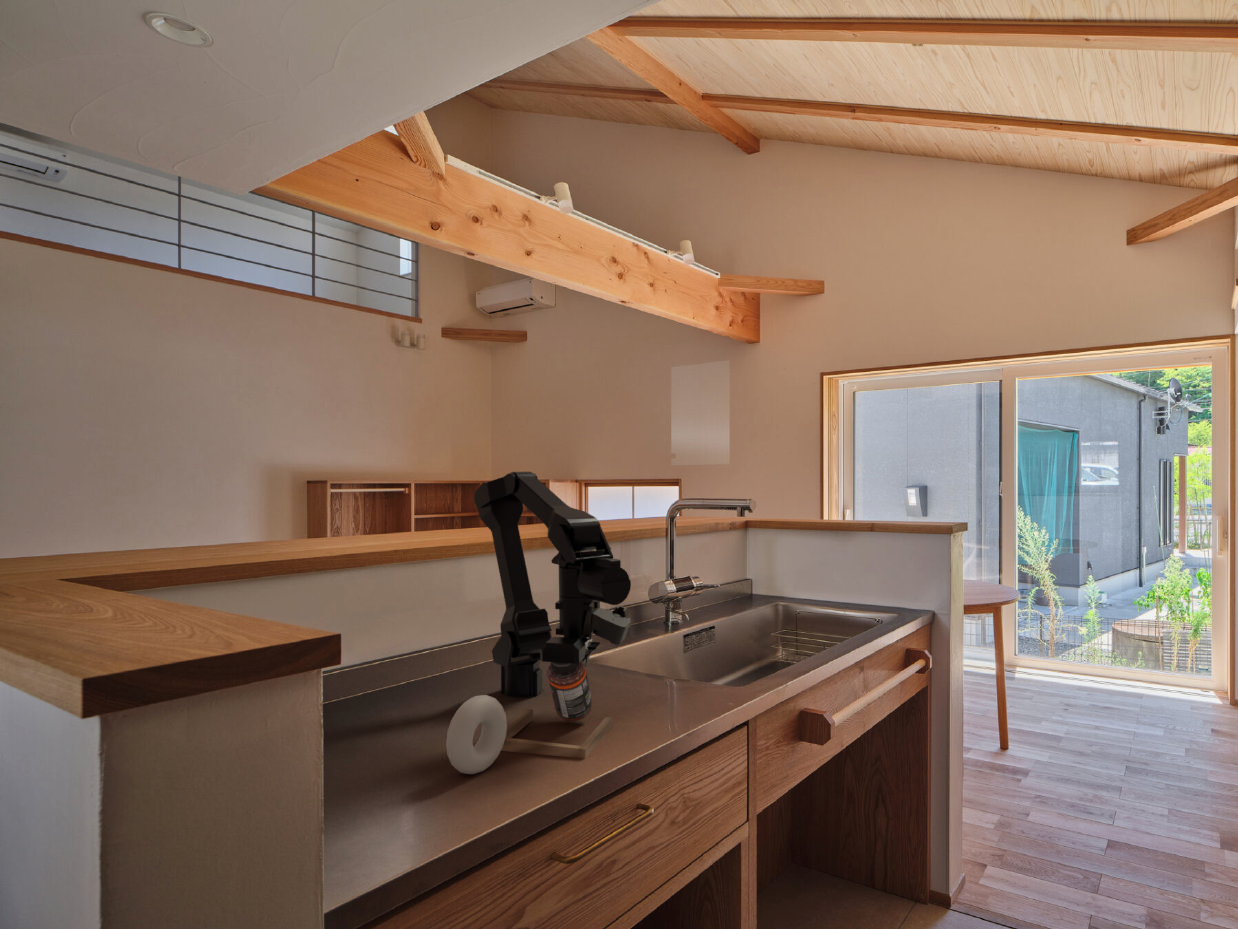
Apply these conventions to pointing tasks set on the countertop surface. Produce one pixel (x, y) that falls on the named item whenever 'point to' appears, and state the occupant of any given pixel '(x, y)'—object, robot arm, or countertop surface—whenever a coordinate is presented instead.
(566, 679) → the supplement bottle
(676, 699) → the countertop surface
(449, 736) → the donut
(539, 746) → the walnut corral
